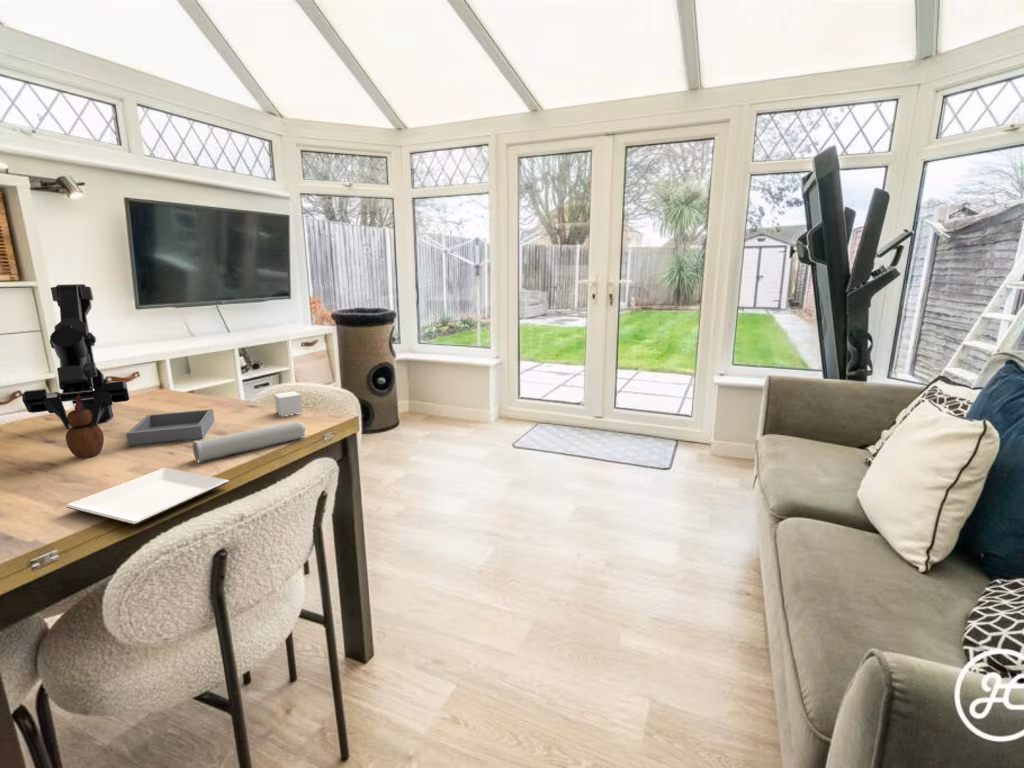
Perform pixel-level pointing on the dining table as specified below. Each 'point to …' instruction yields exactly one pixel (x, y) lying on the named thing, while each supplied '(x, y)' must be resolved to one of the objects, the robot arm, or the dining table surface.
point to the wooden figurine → (83, 432)
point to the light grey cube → (288, 403)
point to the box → (171, 427)
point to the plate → (147, 495)
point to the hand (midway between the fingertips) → (81, 426)
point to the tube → (246, 441)
